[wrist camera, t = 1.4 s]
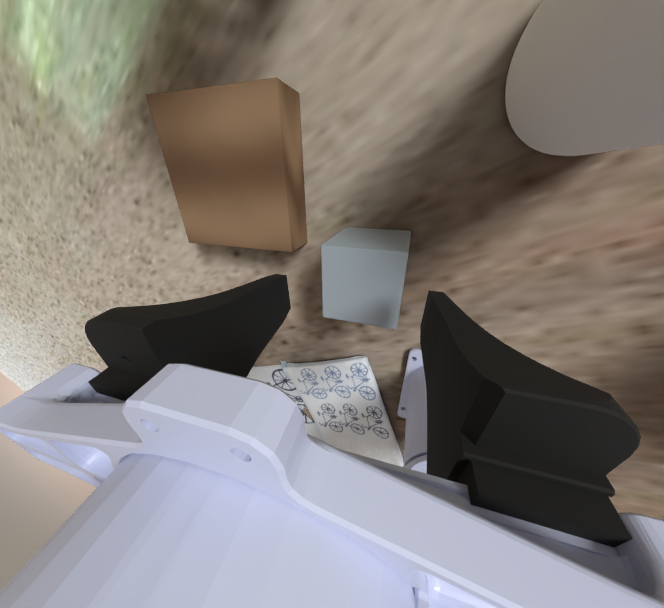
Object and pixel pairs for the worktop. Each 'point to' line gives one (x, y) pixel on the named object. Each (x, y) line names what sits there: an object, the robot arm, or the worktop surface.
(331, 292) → the slate cube
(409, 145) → the worktop surface
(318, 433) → the white bicycle print cloth
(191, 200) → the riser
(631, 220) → the worktop surface
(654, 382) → the worktop surface
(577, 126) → the pill bottle
